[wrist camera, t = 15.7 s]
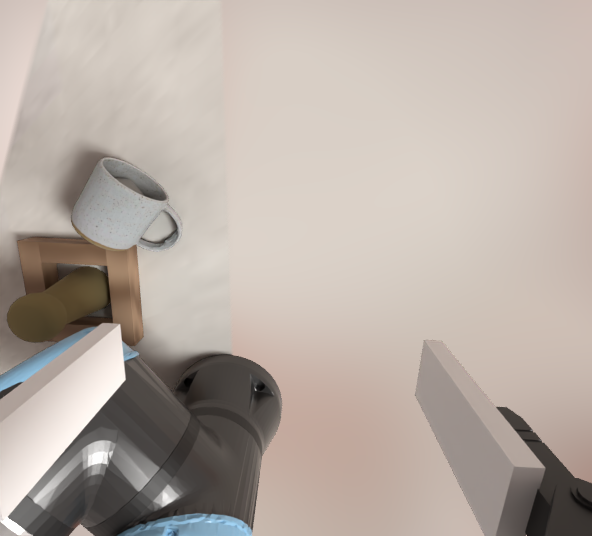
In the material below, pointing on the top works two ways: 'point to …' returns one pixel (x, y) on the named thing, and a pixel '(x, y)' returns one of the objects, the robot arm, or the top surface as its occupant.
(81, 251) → the socket block
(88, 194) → the ceramic mug
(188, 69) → the top surface
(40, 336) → the olive rounded upright piece
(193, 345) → the top surface
